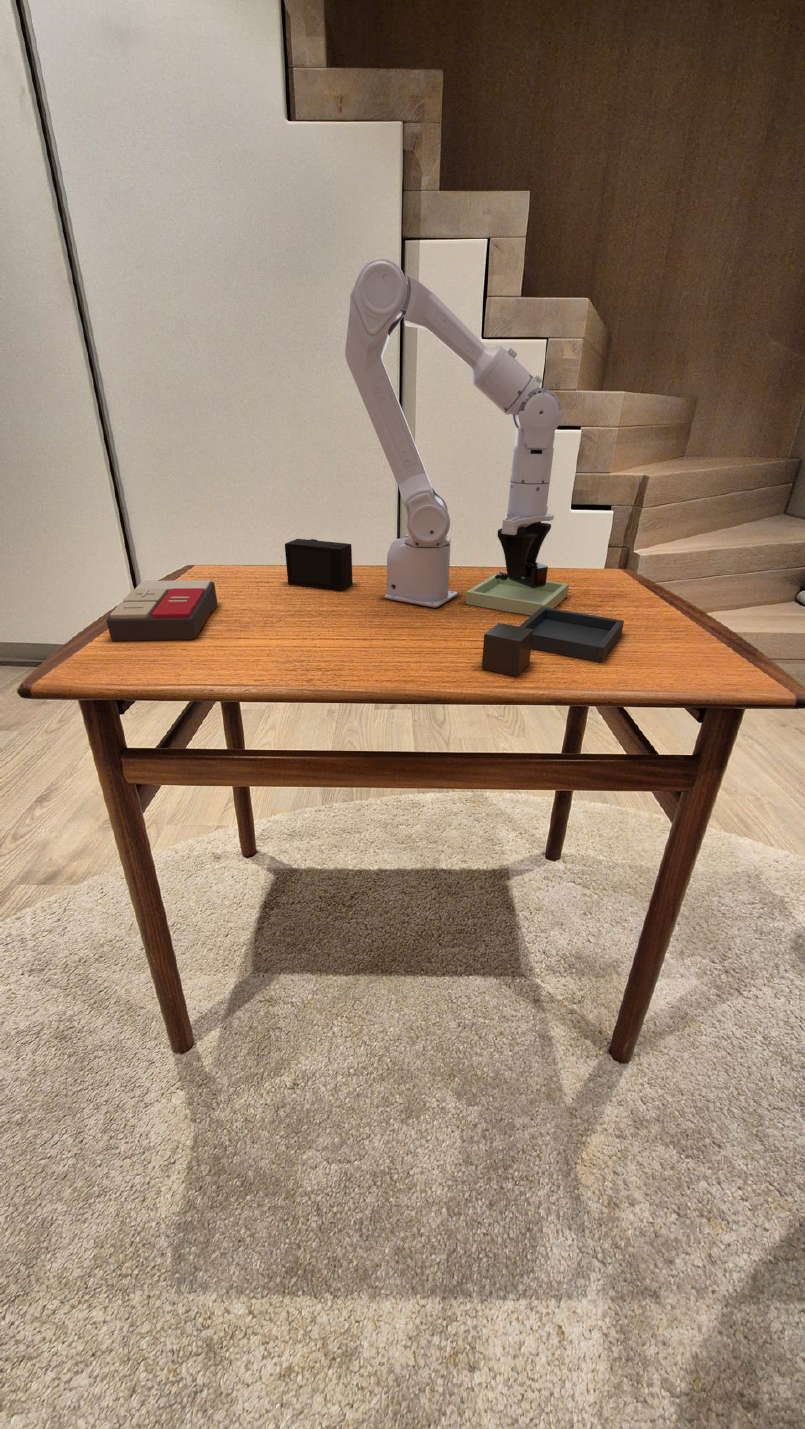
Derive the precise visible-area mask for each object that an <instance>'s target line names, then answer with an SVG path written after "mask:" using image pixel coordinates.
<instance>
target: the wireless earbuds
mask: <svg viewBox="0 0 805 1429" xmlns="http://www.w3.org/2000/svg"><path fill="white" fill-rule="evenodd" d="M548 569H549V565H546V564H543V563H540V562H537V561H536V562H534V561H531V560H527V561H526V565H525V569H524V573H523V576H522V578H521V579H517V578H510V577H508V575H507V572H505V571H504V570H499V572H498V573H497V574H496V573H495V574H496V576H495V578H497V579H498V577H499V579H501V580H503V581H505V580H507V579H508V578H509V580H511V581H514V582H517V583H519V584H522V585H525V586H528V587H531V588H534V589H535V588H540V587H544V586H545V585H546V581H547V577H548ZM498 574H499V575H498Z"/></svg>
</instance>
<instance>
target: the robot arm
mask: <svg viewBox="0 0 805 1429" xmlns="http://www.w3.org/2000/svg"><path fill="white" fill-rule="evenodd" d="M406 276H407V279H406ZM406 276H405V274H404V272H403V270H402V269H401V267H400V266H399V265H398V263H396V262H394V261H393V260H391V259H388V258H384V257H383V258H382V257H379V258H374V259H372V260H369V261H368V262H367V263H366V264H365V265H364V266H363V267H362V268H361V270H360V271H359V273H358V276H357V277H356V280H355V282H354V284H353V287H352V290H351V292H350V295H349V309H348V310H349V311H348V319H347V329H346V339H345V348H344V357H345V360H346V361H345V362H346V363H347V366H348V367H349V371H350V373H351V375H352V379H353V381H354V383H355V385H356V388H357V390H358V392H359V395H360V397H361V399H362V403H363V404H364V407H365V409H366V412H367V414H368V416H369V418H370V422H371V424H372V426H373V428H374V431H375V433H376V436H377V438H378V441H379V443H380V445H381V448H382V449H383V453H384V454H385V457H386V460H387V462H388V464H389V467H390V470H391V472H392V474H393V477H394V479H395V481H396V485H397V486H398V487H397V488H398V490H399V494H400V496H401V499H402V503H403V505H404V508H405V511H406V529H407V532H408V533H407V534H406V535H404V537H403V538H397V539H395V540H393V541H392V542H391V544H390V546H389V548H388V551H387V556H386V594H385V595H384V599H386V600H392V601H397V602H401V603H408V604H414V605H419V606H425V607H429V608H435V609H436V608H439V607H440V606H442V605H444V604H445V603H447V602H449V601H450V600H452V599H454V598H455V597H457V596H458V595H459V592H457V591H453V590H449V586H450V585H449V583H450V565H451V564H450V563H451V544H452V543H451V542H452V539H451V537H449V536H447V535H448V533H449V531H450V528H451V518H450V514H449V511H448V510H449V509H448V506H447V503H446V501H445V500H444V498H443V497H442V496H441V495H440V494H438V493H437V492H436V490H435V489H434V486H433V484H432V481H431V479H430V477H429V475H428V472H427V470H426V468H425V465H424V462H423V460H422V457H421V454H420V453H419V450H418V447H417V445H416V442H415V439H414V437H413V434H412V432H411V429H410V426H409V424H408V422H407V419H406V417H405V413H404V411H403V408H402V406H401V403H400V401H399V399H398V396H397V393H396V391H395V388H394V386H393V383H392V380H391V378H390V376H389V373H388V370H387V367H386V365H385V363H384V360H383V357H384V355H385V351H386V349H387V346H388V343H389V340H390V338H391V334H392V333H393V331H394V330H395V328H396V327H397V326H398V324H399V323H400V322H401V320H402V319H403V322H404V326H405V327H409V328H416V329H417V328H418V329H423V330H426V331H427V332H429V333H430V334H431V335H432V336H433V337H435V339H437V341H439V342H440V343H441V344H442V345H443V346H444V347H446V348H447V349H448V350H449V351H450V352H452V353H453V354H454V355H455V356H456V357H457V358H459V359H460V360H461V361H462V362H463V363H465V364H466V365H467V366H468V367H469V368H470V369H471V382H472V385H473V386H474V387H475V388H476V389H477V390H478V391H480V392H481V393H482V394H483V395H484V396H485V397H486V398H487V399H488V400H489V401H490V402H491V403H493V404H494V405H495V406H496V407H497V408H498V409H499V410H500V411H501V412H502V413H504V414H505V415H507V416H509V415H511V416H512V421H513V424H514V426H515V436H514V437H515V438H514V446H513V447H512V455H511V456H512V457H511V468H510V478H509V490H508V502H507V511H506V512H505V518H504V519H502V525H501V528H498V530H497V538H498V540H499V542H500V545H501V548H502V550H503V555H504V561H505V568H506V569H505V570H506V574H507V575H508V577H510V578H517V579H521V578H522V576H523V573H524V569H525V565H526V561H527V560H531V561H534V562H537V559H538V556H539V554H540V550H541V547H542V545H543V543H544V541H545V539H546V537H547V536H548V534H549V533H550V531H551V529H552V524H551V523H547V522H552V521H553V520H554V517H555V515H554V514H552V513H548V511H549V510H548V508H549V507H548V500H549V492H550V482H551V478H552V477H551V476H552V468H553V461H554V460H553V459H554V451H555V449H554V442H555V434H556V430H557V428H558V427H559V426H560V424H561V422H562V419H563V415H564V412H563V411H562V405H561V401H560V398H559V397H558V395H557V394H556V393H555V392H553V390H550V389H547V388H543V387H540V386H541V384H542V383H543V378H542V377H541V376H540V375H538V374H537V375H535V376H534V375H533V374H532V373H531V372H529V370H527V369H526V367H525V366H523V365H522V364H521V362H520V361H518V360H517V359H516V357H517V356H518V353H517V351H515V350H514V349H513V348H512V347H509V348H508V349H507V350H506V348H505V347H504V346H502V345H494V346H486V345H485V344H484V343H483V342H482V341H481V340H480V339H479V338H478V337H477V336H476V335H475V333H473V332H472V331H471V329H469V328H468V327H467V326H466V324H464V322H463V321H462V320H460V318H458V316H457V315H455V313H454V312H453V311H452V310H451V309H449V307H448V306H447V305H446V304H445V303H444V302H443V301H442V300H441V299H440V298H439V297H438V296H437V295H436V294H435V293H434V292H433V291H432V290H430V289H429V288H428V287H426V285H424V284H423V283H422V282H420V281H419V280H418V279H417V278H415V277H414V276H412V274H411V275H410V274H409V273H407V274H406Z"/></svg>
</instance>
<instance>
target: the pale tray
mask: <svg viewBox="0 0 805 1429" xmlns="http://www.w3.org/2000/svg"><path fill="white" fill-rule="evenodd" d="M496 574H498V575H499V573H495V574H493V575H491V576H490V577H488V578H486V579H485V580H483V581H482V582H480V583H478V584H477V585H475V586H473V587H472V588H470V589H469V590H467V591H466V592H465V605H469V606H475V607H479V608H480V607H482V608H486V609H491V610H498V611H503V612H509V613H513V614H519V615H524V616H529V617H531V616H532V615H533V614H534V613H536V612H537V611H538V610H539V609H540V608H541V607H547V608H553V609H556V607H558V605H559V604H560V603H561V602H563V601H564V599H566V598H567V597H568V595H569V594H568V593H569V588H570V584H569V583H563V582H557V581H550V580H546V585H545V586H544V587H540V588H535V589H534V588H531V587H528V586H525V585H522V584H519V583H517V582H514V581H511V580H509V578H508V579H507V580H505V581H503V580H501V579H499V577H498V579H497V578H495V576H496Z"/></svg>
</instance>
